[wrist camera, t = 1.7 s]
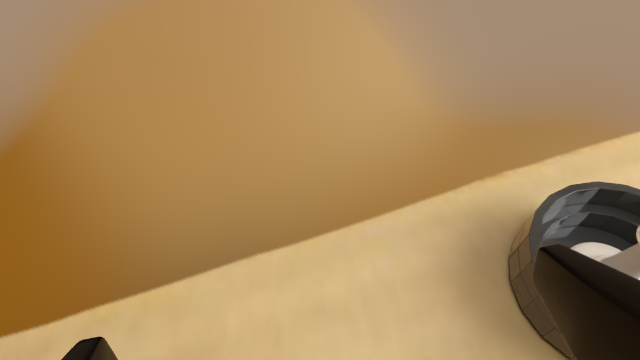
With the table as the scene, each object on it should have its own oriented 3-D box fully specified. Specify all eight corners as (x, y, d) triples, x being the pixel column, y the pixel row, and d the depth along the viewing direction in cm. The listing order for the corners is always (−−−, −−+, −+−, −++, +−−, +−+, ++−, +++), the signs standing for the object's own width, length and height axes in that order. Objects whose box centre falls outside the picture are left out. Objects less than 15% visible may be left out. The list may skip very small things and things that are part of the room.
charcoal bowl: (724, 288, 23) (777, 263, 20) (649, 427, 20) (702, 421, 17) (560, 186, 28) (585, 154, 25) (474, 284, 24) (492, 260, 21)
